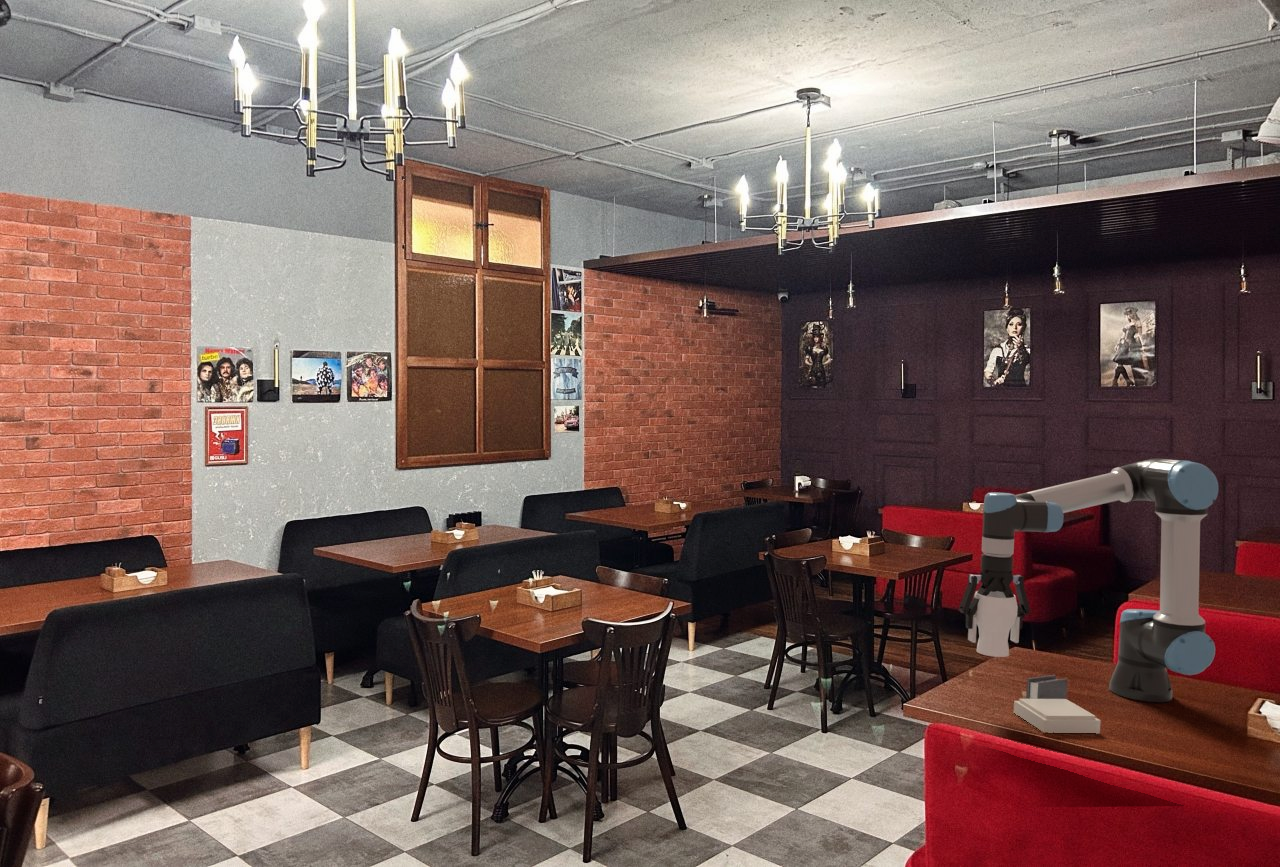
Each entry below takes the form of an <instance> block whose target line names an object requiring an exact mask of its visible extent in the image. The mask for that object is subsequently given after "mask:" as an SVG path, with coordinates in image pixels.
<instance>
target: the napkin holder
mask: <svg viewBox="0 0 1280 867" xmlns="http://www.w3.org/2000/svg"><path fill="white" fill-rule="evenodd" d="M1067 693H1068V678H1059V679H1057V674H1049V675H1042V676H1036V677H1035V676H1034V677H1028V678H1026V694H1025V696H1026V697H1025V699H1067Z"/></svg>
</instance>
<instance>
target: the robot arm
mask: <svg viewBox="0 0 1280 867" xmlns="http://www.w3.org/2000/svg"><path fill="white" fill-rule="evenodd" d="M1218 494H1219V482H1218V479H1217V477H1216V475H1215V474H1214V472H1213V470H1211V469H1210V468H1209V467H1207V466H1206V465H1204V464H1203V463H1199V462H1193V461H1191V460H1183V459H1181V460H1180V459H1170V458H1169V459H1167V458H1161V457H1160V458H1149V459H1146V460H1141V461H1136V462H1132V463H1129V464H1125V465H1122V466H1117V467H1114V468H1112V469H1111V471H1110V472H1108V473H1105V474H1099V475H1095V476H1092V477H1087V478H1082V479H1079V480H1078V479H1077V480H1074V481H1069V482H1065V483H1061V484H1057V485H1052V486H1049V487H1043V488H1039V489H1036V490H1032V491H1031V490H1030V491H1028V492H1023V493H1018V494H1014V493H1010V492H988V493H986V494H985V495H984V501H983V508H982V514H983V515H982V537H981V552H982V554H981V555H980V556H981V557H980V570H981V571H980V573H979V574H971V573H969V574H968V576H967V585H966V587H965V590H964V592H963V595H962V599H961V602H960V604H959V606H958V611H959V612H960V613H961V614H964V615H965V628H966V629H967V630H968V632H967V641H969V642H971V643H972V644H973V643H974V644H976V643H977V627H978V625H977V617H976V616H974V614H975V613H976V611H977V609H978V602H979V599H976V598H975V597H974V595H975V592H976V591H978V592H977V593H978V594H980V595H983V596H987V595H988V594H989V593H990V592H996V591H999V592H1003V593H1004V595H1005V596H1006V598H1012V597H1014V595H1015V594H1014V593H1013V590H1012V587H1011V586H1010V585H1011V583H1013V584H1014V588H1015V591H1016V595H1017V599H1018V600H1017V599H1016V601H1017V606H1018V609H1017V617H1016V619H1015V622H1014V624H1013V626H1012V627H1011V629H1010V635H1009V636H1010V639H1009V640H1010V641H1011V642H1013V643H1015V644H1018V643H1019V641H1020V640H1019V639H1020V630H1022V629H1023V619H1024V618H1025V617H1026V615H1030V614H1031V607H1030V604H1029V599H1028V596H1027V591H1026V588H1025V577H1024V576H1022V575H1020V574H1015V575H1014V574H1013V569H1014V557H1013V556H1012V555H1014V552H1015V551H1014V550H1015V532H1032V533H1033V532H1037V533H1042V532H1043V533H1049V532H1050V533H1051V532H1052V533H1053V532H1057V531H1060V530H1061V528H1062V527H1063V524H1064V517H1065V516H1064V514H1065V513H1069V512H1074V511H1077V510H1082V509H1086V508H1090V507H1091V508H1092V507H1095V506H1099V505H1103V504H1109V503H1113V502H1117V501H1120V502H1122V503H1130V502H1134V501H1136V502H1137V501H1148V502H1154V513H1155V514H1156V515H1157V516H1158V517H1159V518H1160V520H1161V521H1160V522H1161V524H1160V528H1161V533H1160V534H1161V536H1160V538H1161V539H1160V577H1159V578H1160V581H1159V582H1160V586H1159V591H1160V593H1159V610H1156V609H1143V608H1142V609H1141V608H1140V609H1138V608H1127V609H1125V610H1123V611H1122V612H1121V614H1120V620H1119V636H1118V638H1119V639H1118V658H1117V664H1116V666H1115V668H1114V670H1113V674H1112V675H1111V678H1110V679H1109V687H1108V689H1109V691H1111V692H1112V693H1114V694H1116V695H1118V696H1121V697H1123V698H1126V699H1131V700H1136V701H1140V702H1147V703H1167V702H1170V701H1172V700H1173V688H1172V685H1171V682H1170V678H1169V674H1168V670H1167V669H1169V670H1170V671H1172V672H1174V673H1179V674H1182V675H1186V676H1193V675H1198V674H1200V673H1202V672H1204V671H1205V670H1206V669H1207V668H1208V667H1209V666H1210V665H1211V664H1212V663H1213V661H1214V659H1215V655H1216V646H1215V645H1216V644H1215V642H1214V640H1213V639H1211V637H1210V635H1209V634H1206V620H1205V619H1204V618H1203V617H1202V616H1201V615H1200V614H1199V612H1200V611H1199V608H1200V606H1199V604H1200V602H1199V598H1200V556H1201V555H1200V553H1201V552H1200V550H1201V549H1200V546H1201V545H1200V544H1201V543H1200V542H1201V541H1200V540H1201V521H1202V520H1203V519H1204V518H1205V517H1207V516H1208V508H1209V507H1210V506H1212V505H1213V504H1214V501H1216V500H1217V498H1218ZM980 582H981V584H980V586H979V588H978V590H977V587H978V584H979V583H980ZM1013 594H1014V595H1013Z"/></svg>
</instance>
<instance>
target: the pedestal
mask: <svg viewBox="0 0 1280 867" xmlns="http://www.w3.org/2000/svg"><path fill="white" fill-rule="evenodd" d="M1014 713H1015V714H1016V716H1017V715H1018V716H1020V717H1021V718H1023V719H1024V720H1026V721H1027V722H1029V723H1030V724H1032V725H1034V726H1035V727H1037V728H1038V729H1039V730H1041V731H1043V732H1048V733H1053V732H1054V733H1096V735H1097V734H1098V735H1100V733H1101V722H1102V721H1101V719H1099V718H1098V717H1096V715H1094V714H1093V713H1091V712H1090V711H1088V710H1086V709H1084V708H1082V707H1081V706H1079V705H1078V704H1076V703H1074V702H1072V701H1070V700H1068V699H1067V698H1066V699H1026V698H1019V699H1018V700H1014V702H1013V714H1014ZM1015 714H1014V715H1015ZM1018 716H1017V717H1018ZM1020 717H1019V718H1020ZM1021 718H1020V719H1021ZM1023 719H1022V720H1023ZM1024 720H1023V721H1024ZM1026 721H1025V722H1026ZM1027 722H1026V723H1027ZM1029 723H1028V724H1029ZM1030 724H1029V725H1030ZM1032 725H1031V726H1032ZM1035 727H1034V728H1035ZM1038 729H1037V730H1038ZM1039 730H1038V731H1039Z"/></svg>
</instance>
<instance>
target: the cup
mask: <svg viewBox="0 0 1280 867" xmlns="http://www.w3.org/2000/svg"><path fill="white" fill-rule="evenodd" d="M978 591H979V590H975V593H974V595H973V598H974V597H975V598H976V599H979V602H978V609H977V611H976V613H975V614H974V616H976V617H977V627H978V636H979V637H978V640H977V645H976V652H977V653H978V654H981V655H984V656H986V657H987V656H988V657H995V658H1005V657H1009V656H1010V649H1009V642H1008V640H1009V636H1010V635H1009V634H1010V632H1011V627H1012V626H1013V624H1014V622H1015V619H1016V617H1017V609H1018V606H1017V602H1018V600H1017V597H1016V595H1015V594H1014V593H1013V595H1014V597H1012V598H1006V596H1005V595H1004V593H1003V592H999V591H996V592H990V593H989V594H988V595H987V596H983V595H980V594H978V593H977V592H978ZM1016 600H1017V601H1016Z"/></svg>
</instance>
